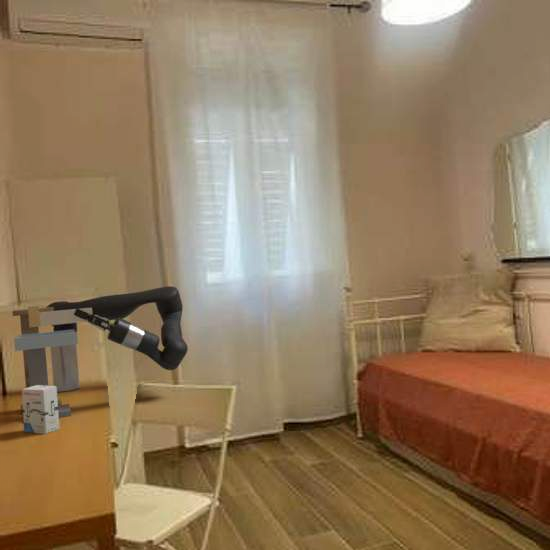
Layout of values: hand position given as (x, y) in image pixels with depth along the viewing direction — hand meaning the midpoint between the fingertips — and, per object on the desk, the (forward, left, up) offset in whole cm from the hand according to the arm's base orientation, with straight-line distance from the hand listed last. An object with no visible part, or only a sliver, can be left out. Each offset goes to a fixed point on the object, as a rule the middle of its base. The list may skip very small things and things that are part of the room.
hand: (75, 311), depth 181 cm
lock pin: (0, -4, -3) cm, 5 cm away
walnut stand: (-13, -12, -30) cm, 35 cm away
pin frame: (0, -9, -30) cm, 32 cm away
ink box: (+20, -12, -31) cm, 38 cm away
